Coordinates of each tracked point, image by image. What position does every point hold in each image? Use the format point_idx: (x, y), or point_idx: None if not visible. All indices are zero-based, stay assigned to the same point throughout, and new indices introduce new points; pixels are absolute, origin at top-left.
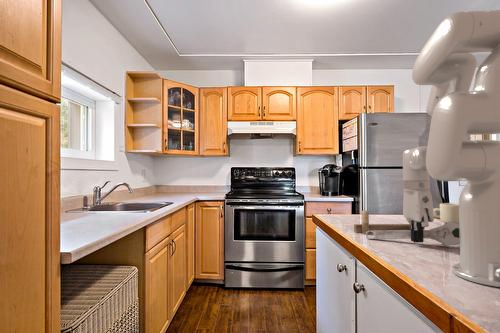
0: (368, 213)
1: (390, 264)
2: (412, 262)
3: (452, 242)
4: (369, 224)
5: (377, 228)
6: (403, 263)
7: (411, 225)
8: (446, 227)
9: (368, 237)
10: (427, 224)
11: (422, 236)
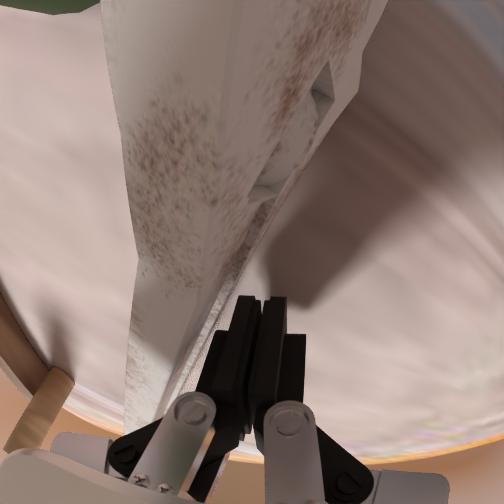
0: (18, 448)
1: (471, 442)
2: (493, 408)
3: (369, 36)
4: (3, 368)
5: (7, 340)
6: (484, 424)
7: (221, 469)
8: (304, 24)
9: None
10: (441, 498)
11: (281, 341)
